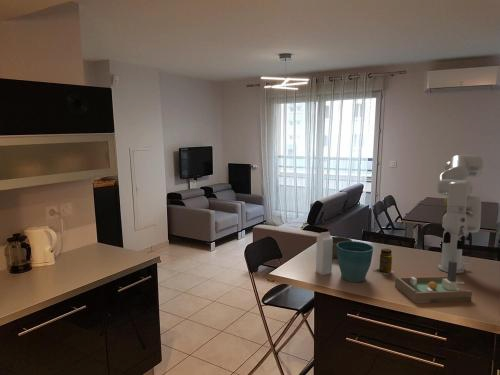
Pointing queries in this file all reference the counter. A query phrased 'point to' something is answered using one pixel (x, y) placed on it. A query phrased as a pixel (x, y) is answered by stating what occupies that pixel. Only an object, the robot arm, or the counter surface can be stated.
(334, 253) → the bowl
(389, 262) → the condiment
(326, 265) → the milk
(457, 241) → the robot arm
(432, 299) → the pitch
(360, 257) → the flower pot
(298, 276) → the counter surface
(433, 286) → the ball
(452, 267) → the striker
